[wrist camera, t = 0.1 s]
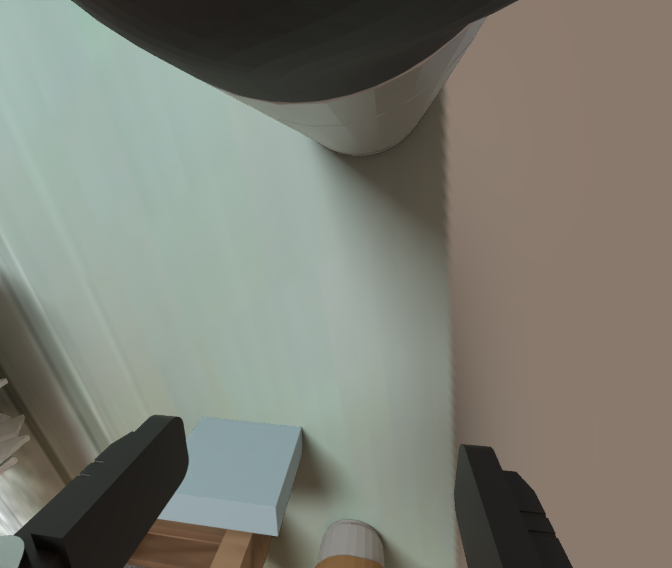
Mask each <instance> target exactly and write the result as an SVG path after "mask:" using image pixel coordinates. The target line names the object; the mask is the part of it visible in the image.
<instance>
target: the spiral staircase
mask: <svg viewBox="0 0 672 568" xmlns="http://www.w3.org/2000/svg"><path fill="white" fill-rule="evenodd" d="M7 383H8V381H7V379H6V378H5V379H0V388H1V387H2V386H4V385H6V384H7ZM24 420H25V416H24V414H23V415H20V416H17V417H15V418H12V419H10V417H9V416H8V415H5V414H1V413H0V474H2V473H3V472H4V471H6V470H7V469H9V468H10V467H12V466H13V465H15V464H16V463H18V460H17V458H16V457H10V456H11V455H12V454H13V453H14V452H16V451H17V450H18V449H19V448H20V447H21V446H23V445H24V444H25V443H26V442H27V441H28V440H30V437H29V435H24V436H19V437H17V436H18V434H19V432H20V429H21V427H22V425H23V422H24Z"/></svg>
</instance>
